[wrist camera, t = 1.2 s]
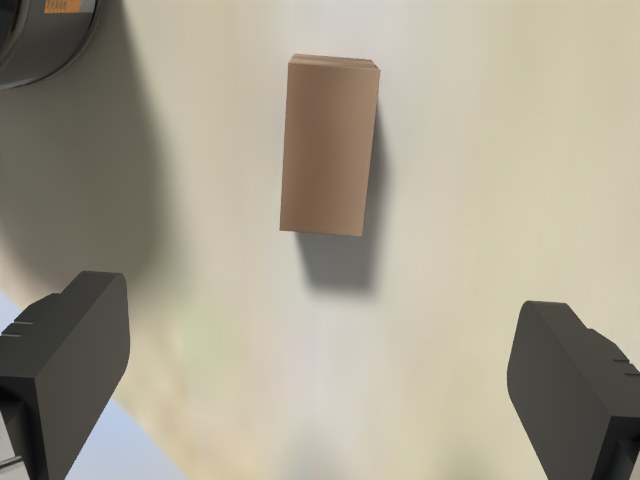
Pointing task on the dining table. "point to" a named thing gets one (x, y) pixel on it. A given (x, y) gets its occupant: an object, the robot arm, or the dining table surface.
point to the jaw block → (328, 143)
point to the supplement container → (43, 37)
